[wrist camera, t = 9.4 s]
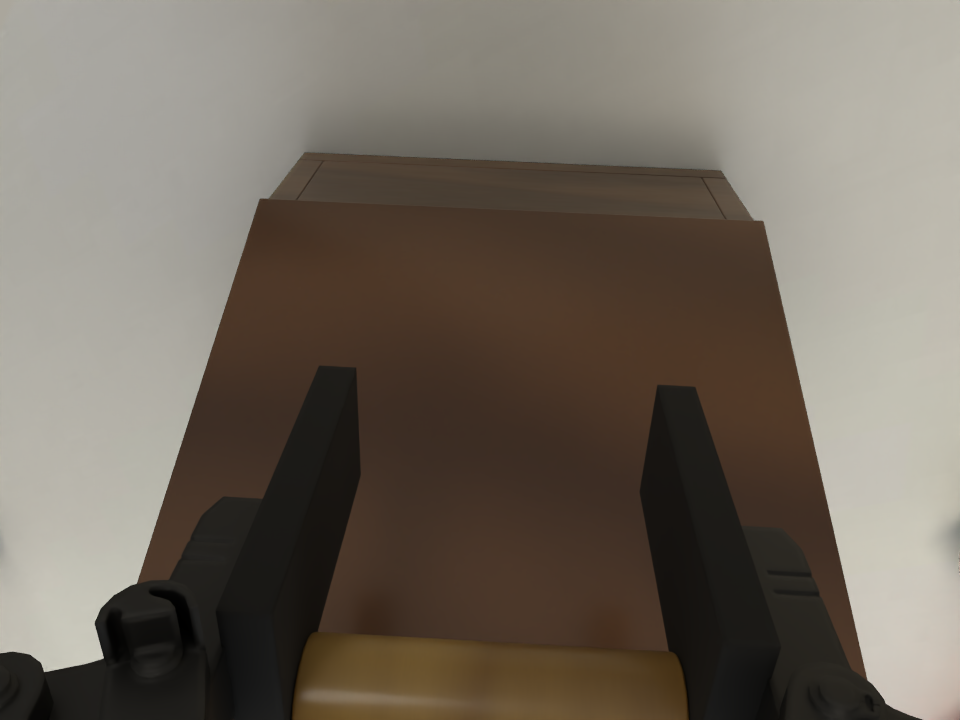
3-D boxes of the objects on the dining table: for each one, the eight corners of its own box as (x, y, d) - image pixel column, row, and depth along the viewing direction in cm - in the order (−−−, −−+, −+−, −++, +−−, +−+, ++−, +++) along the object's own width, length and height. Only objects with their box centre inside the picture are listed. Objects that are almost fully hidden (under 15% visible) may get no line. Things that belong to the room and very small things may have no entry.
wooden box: (657, 528, 44) (675, 617, 38) (331, 510, 44) (305, 596, 39) (721, 170, 34) (757, 224, 29) (303, 152, 34) (265, 202, 29)
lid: (911, 951, 16) (1126, 919, 11) (53, 896, 17) (-140, 840, 11) (757, 237, 29) (824, 59, 23) (263, 215, 29) (218, 34, 24)
